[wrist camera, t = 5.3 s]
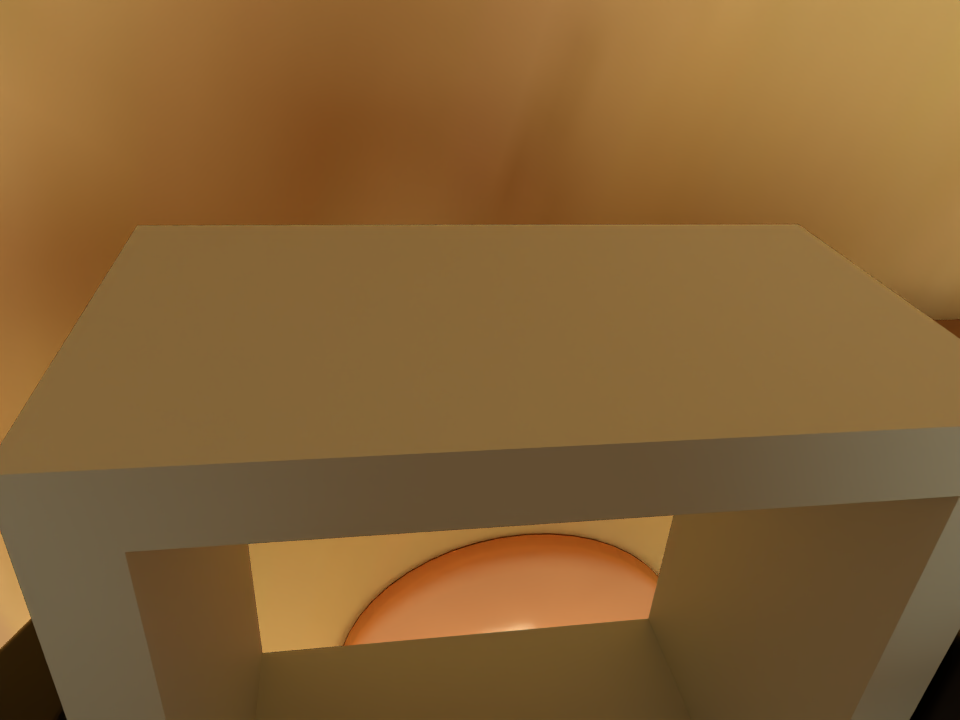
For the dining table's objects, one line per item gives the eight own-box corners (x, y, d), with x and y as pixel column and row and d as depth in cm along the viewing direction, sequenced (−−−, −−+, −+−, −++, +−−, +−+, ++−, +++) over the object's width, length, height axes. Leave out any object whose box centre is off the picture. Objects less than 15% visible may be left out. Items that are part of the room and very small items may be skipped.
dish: (706, 521, 21) (725, 554, 20) (645, 744, 26) (657, 779, 25) (330, 549, 19) (330, 586, 18) (344, 781, 24) (344, 820, 23)
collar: (797, 223, 8) (1074, 420, 5) (679, 643, 11) (801, 911, 8) (137, 225, 7) (-18, 475, 4) (220, 686, 10) (170, 1014, 7)
